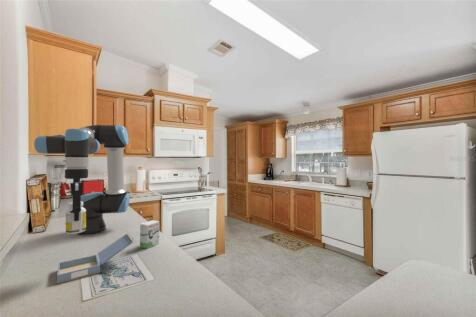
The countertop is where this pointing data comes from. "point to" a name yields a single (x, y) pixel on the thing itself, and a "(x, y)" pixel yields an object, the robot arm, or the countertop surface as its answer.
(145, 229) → the ink box
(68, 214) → the pill bottle
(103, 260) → the lid
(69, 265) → the box
